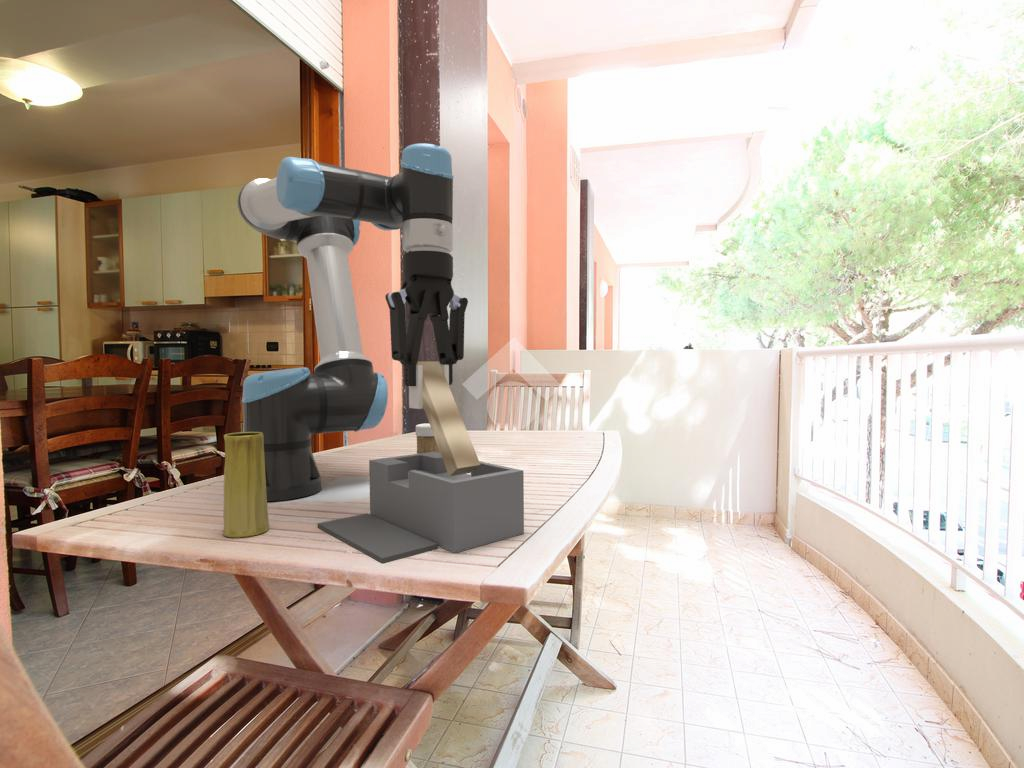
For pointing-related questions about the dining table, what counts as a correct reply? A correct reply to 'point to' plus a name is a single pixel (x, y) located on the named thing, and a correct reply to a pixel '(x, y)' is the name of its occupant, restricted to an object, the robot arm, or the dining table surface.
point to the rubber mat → (377, 537)
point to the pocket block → (447, 500)
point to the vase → (244, 485)
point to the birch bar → (446, 421)
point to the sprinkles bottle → (425, 439)
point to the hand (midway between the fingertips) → (429, 406)
